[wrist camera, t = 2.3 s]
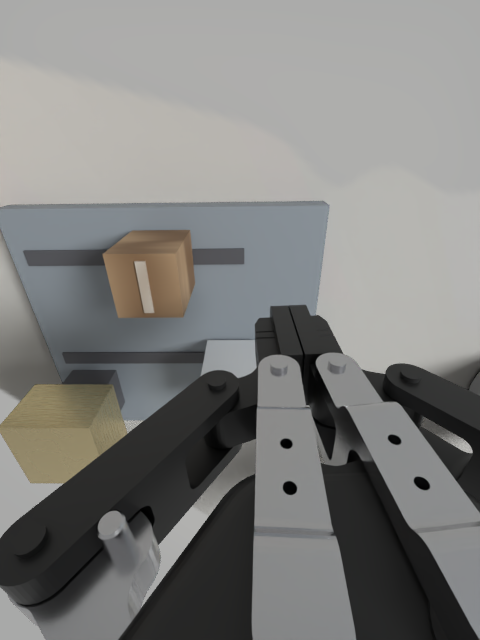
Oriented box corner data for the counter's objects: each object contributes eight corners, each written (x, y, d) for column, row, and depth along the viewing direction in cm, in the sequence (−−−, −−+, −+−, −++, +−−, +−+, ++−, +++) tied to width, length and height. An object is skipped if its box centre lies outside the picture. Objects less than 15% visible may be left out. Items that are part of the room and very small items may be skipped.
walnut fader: (190, 229, 18) (175, 254, 14) (195, 283, 20) (183, 318, 16) (132, 230, 18) (101, 254, 14) (142, 284, 20) (117, 319, 16)
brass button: (112, 384, 21) (89, 428, 18) (128, 437, 24) (110, 483, 21) (35, 384, 22) (-3, 428, 18) (59, 436, 24) (30, 483, 21)
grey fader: (255, 340, 22) (257, 383, 18) (254, 376, 24) (256, 423, 20) (207, 340, 22) (199, 383, 18) (210, 376, 24) (203, 423, 20)
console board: (323, 201, 19) (344, 217, 15) (299, 407, 28) (308, 452, 24) (9, 204, 20) (-53, 221, 16) (85, 407, 29) (58, 451, 25)
